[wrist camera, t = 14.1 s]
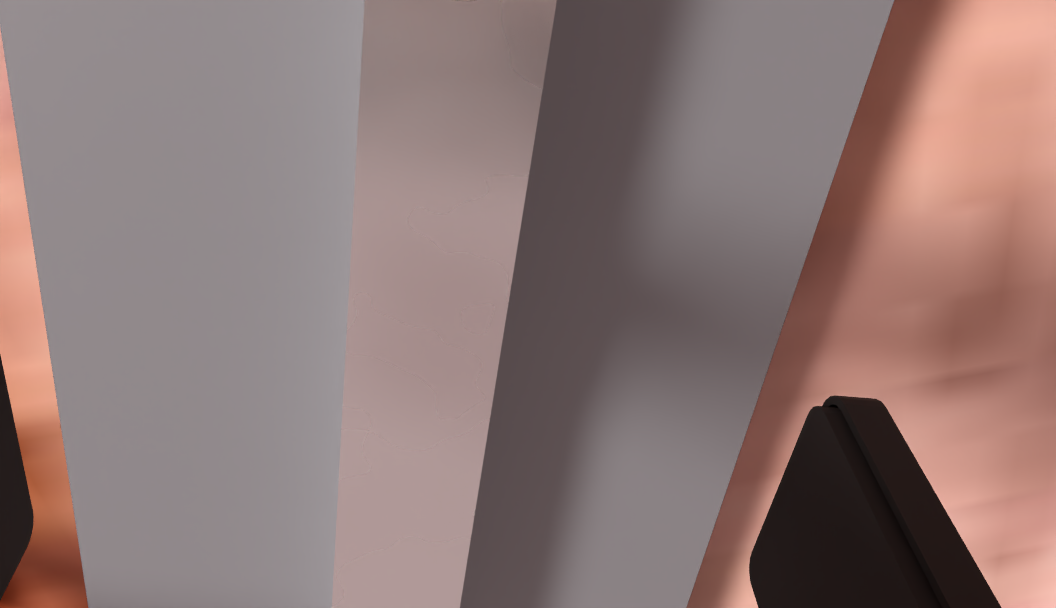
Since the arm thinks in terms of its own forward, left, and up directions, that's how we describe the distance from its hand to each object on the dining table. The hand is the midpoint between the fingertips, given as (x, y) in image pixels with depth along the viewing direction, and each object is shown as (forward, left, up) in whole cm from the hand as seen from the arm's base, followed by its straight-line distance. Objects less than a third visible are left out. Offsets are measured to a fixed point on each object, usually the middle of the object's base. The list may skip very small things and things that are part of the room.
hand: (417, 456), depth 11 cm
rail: (0, +1, -7) cm, 7 cm away
